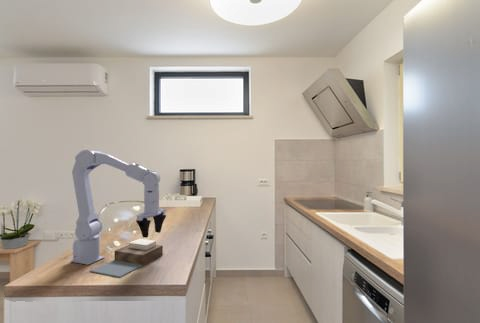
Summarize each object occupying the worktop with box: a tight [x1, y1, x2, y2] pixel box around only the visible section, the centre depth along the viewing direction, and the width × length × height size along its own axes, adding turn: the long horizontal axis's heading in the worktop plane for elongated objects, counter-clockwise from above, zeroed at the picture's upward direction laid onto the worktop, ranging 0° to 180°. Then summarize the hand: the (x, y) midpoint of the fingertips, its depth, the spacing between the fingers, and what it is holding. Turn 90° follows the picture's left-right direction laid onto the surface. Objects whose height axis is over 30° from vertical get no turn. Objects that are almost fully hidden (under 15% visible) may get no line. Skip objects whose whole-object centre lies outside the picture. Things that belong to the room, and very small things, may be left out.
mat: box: [89, 259, 143, 278], centre depth 97 cm, size 14×11×1 cm
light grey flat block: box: [128, 238, 157, 250], centre depth 110 cm, size 9×6×2 cm, turn 69°
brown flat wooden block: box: [113, 244, 164, 267], centre depth 108 cm, size 14×12×4 cm
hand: (151, 234), depth 107 cm, fingers open, 7 cm apart
